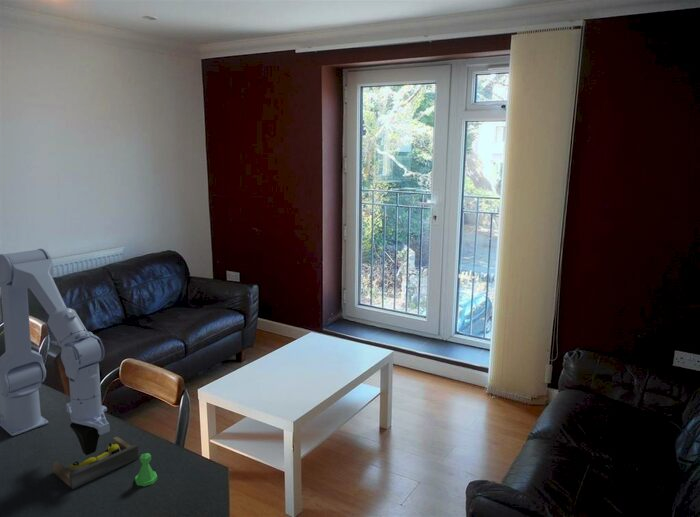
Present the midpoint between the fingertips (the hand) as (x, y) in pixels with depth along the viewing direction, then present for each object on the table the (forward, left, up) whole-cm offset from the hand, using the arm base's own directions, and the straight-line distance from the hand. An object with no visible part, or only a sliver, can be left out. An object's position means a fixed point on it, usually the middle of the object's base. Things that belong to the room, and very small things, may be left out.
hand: (89, 452), depth 113 cm
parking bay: (+2, 0, -2) cm, 3 cm away
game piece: (+15, +4, -2) cm, 16 cm away
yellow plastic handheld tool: (+3, +1, -2) cm, 4 cm away
